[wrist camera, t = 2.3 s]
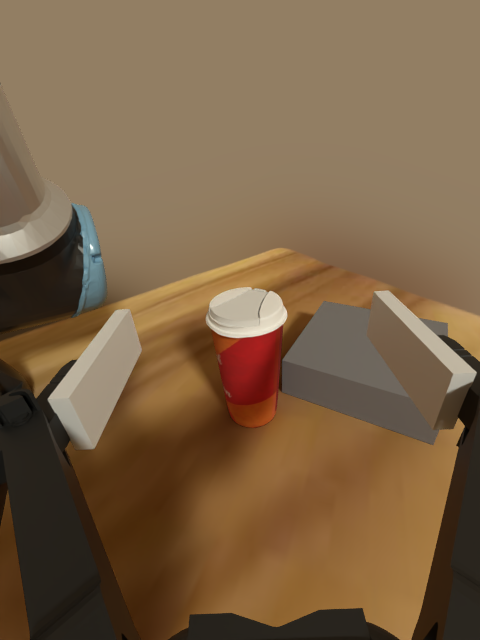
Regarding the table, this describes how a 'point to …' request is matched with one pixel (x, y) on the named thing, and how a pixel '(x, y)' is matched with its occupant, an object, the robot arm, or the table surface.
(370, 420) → the base block
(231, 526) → the table surface
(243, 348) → the paper cup
